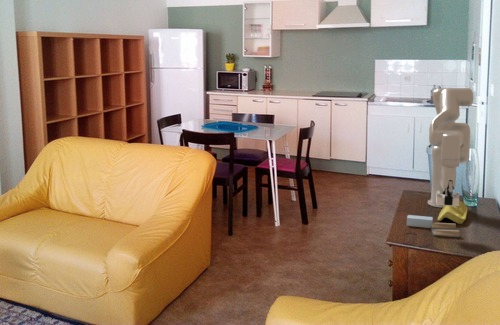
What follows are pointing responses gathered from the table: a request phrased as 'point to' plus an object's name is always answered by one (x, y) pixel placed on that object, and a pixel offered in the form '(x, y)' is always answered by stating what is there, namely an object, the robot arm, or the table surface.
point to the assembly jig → (445, 230)
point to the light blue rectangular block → (419, 221)
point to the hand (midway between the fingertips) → (447, 202)
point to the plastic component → (454, 213)
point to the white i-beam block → (441, 198)
